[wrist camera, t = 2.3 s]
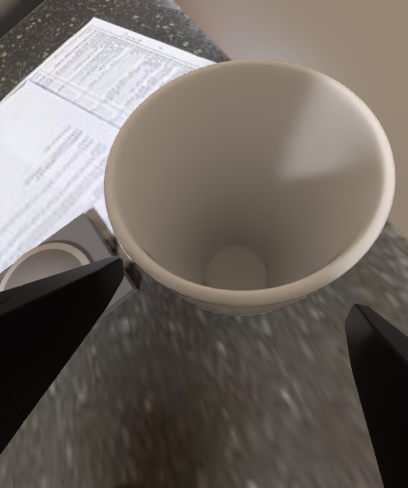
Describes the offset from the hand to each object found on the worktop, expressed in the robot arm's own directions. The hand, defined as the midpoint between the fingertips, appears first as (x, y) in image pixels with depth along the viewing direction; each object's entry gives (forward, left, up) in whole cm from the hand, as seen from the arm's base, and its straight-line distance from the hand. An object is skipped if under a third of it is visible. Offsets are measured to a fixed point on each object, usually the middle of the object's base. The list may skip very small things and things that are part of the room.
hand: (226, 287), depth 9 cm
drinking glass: (+2, +2, -10) cm, 11 cm away
